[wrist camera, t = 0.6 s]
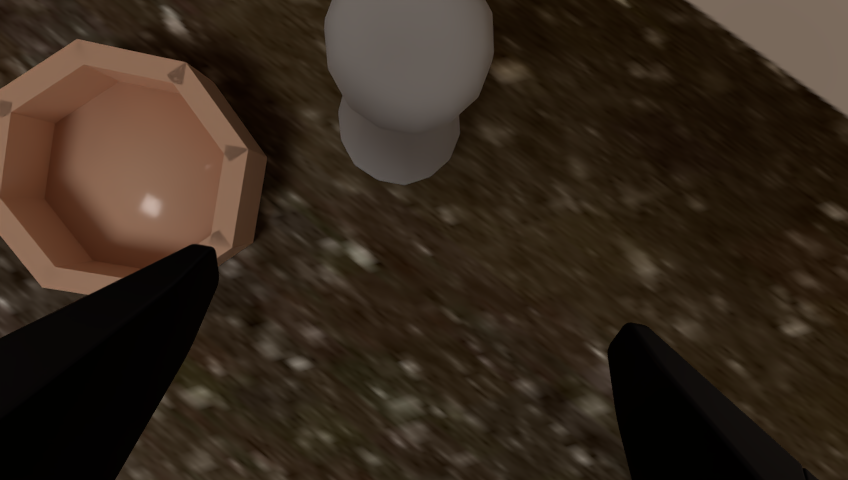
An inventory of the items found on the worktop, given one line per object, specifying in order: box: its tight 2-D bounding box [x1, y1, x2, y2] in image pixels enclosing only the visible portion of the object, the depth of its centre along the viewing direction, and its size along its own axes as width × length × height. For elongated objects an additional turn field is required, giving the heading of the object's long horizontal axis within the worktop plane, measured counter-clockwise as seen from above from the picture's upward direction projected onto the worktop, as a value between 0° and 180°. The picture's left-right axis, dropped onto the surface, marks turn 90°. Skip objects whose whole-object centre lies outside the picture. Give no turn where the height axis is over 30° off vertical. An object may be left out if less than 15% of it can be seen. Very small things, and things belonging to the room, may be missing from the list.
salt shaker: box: [324, 0, 494, 185], centre depth 16 cm, size 6×6×13 cm
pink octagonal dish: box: [0, 39, 267, 295], centre depth 20 cm, size 11×11×3 cm
